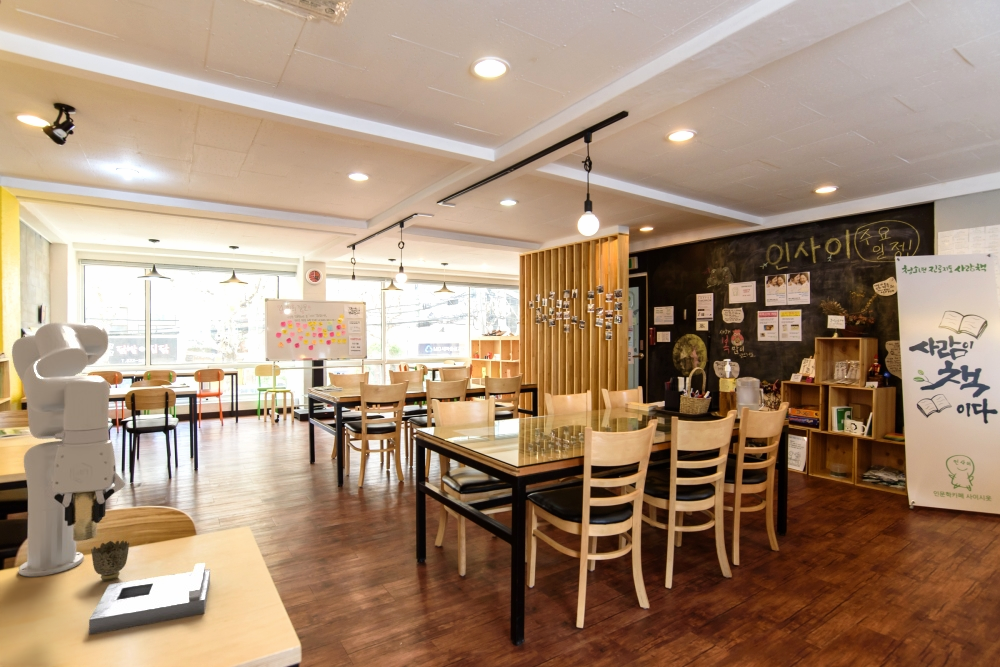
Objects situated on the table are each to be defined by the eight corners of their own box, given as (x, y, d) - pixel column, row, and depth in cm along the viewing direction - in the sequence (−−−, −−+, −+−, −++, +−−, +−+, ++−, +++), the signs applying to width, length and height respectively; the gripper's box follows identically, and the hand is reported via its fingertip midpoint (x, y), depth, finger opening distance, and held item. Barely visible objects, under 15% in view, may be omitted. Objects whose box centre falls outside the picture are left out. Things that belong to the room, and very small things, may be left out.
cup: (108, 587, 124) (109, 553, 124) (82, 584, 126) (83, 550, 126) (136, 573, 131) (136, 541, 131) (111, 570, 133) (112, 538, 133)
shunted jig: (109, 597, 119) (109, 575, 119) (209, 581, 128) (210, 560, 128) (88, 634, 105) (89, 609, 105) (204, 613, 113) (204, 590, 113)
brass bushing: (76, 535, 114) (77, 488, 114) (99, 532, 116) (99, 486, 116) (70, 541, 110) (70, 493, 110) (93, 539, 112) (94, 491, 112)
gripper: (29, 442, 106) (28, 534, 106) (128, 437, 113) (127, 522, 113) (44, 436, 113) (43, 521, 113) (137, 431, 120) (136, 512, 120)
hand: (85, 521), depth 113 cm, fingers closed on brass bushing, 4 cm apart
